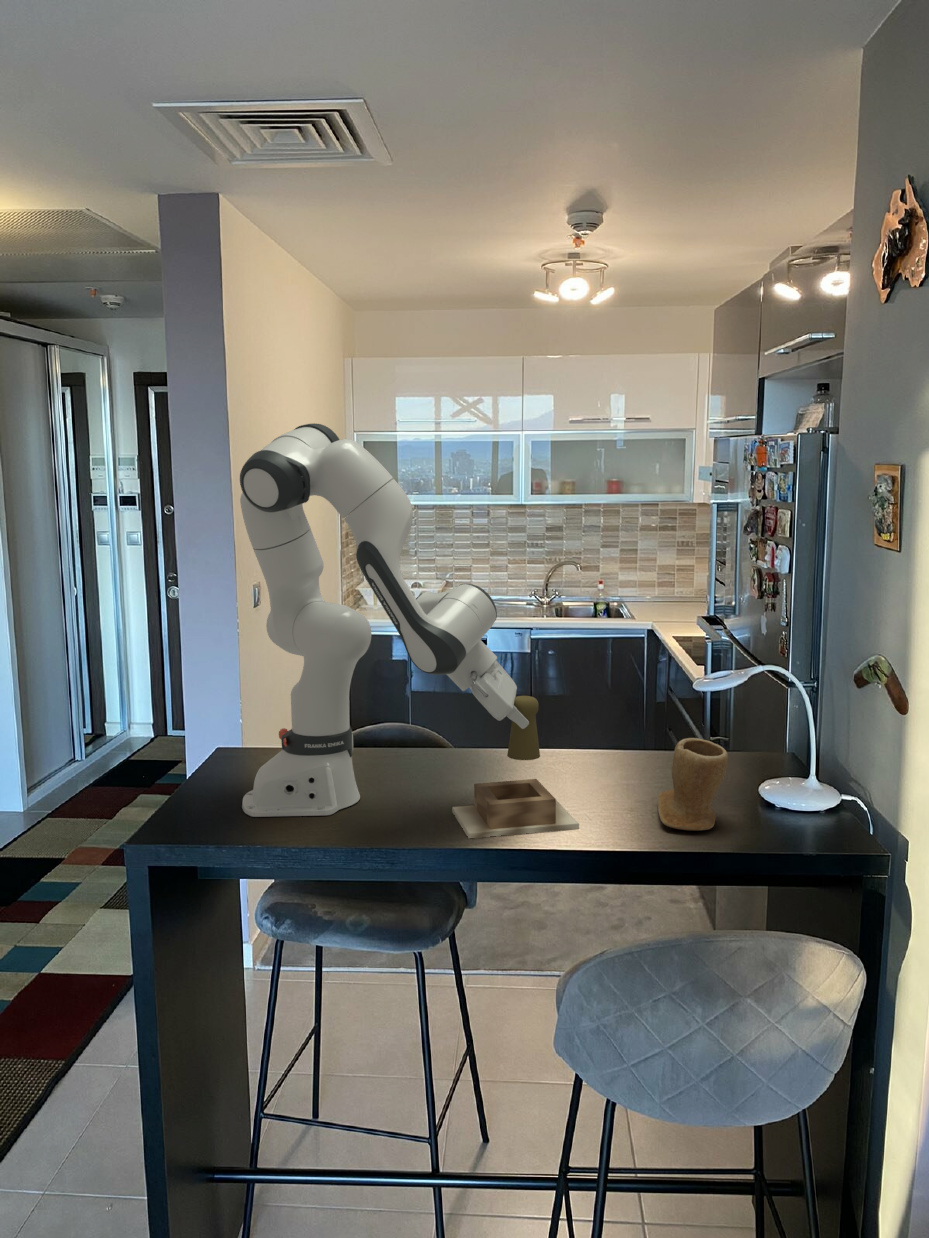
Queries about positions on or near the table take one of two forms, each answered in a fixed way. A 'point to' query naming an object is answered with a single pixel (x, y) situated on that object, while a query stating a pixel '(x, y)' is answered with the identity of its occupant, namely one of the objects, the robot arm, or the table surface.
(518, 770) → the table surface
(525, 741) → the cork
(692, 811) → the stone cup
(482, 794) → the cruet stand
